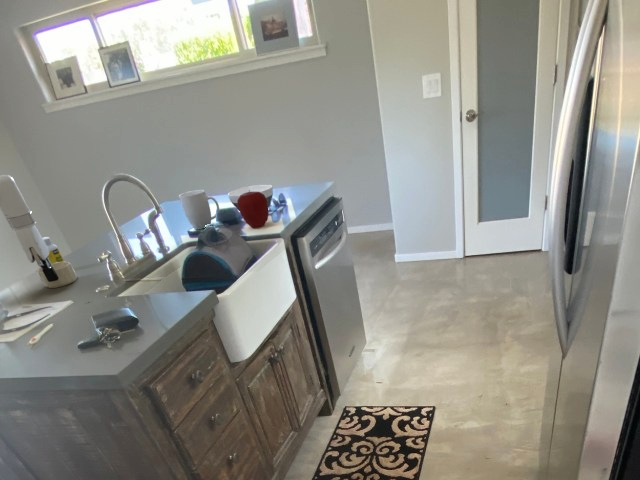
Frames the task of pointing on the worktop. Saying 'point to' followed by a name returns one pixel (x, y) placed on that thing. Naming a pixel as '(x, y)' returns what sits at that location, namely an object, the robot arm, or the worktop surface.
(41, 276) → the small bowl
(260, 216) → the apple
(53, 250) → the pill bottle
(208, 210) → the mug
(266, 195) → the bowl
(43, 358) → the worktop surface
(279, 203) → the worktop surface
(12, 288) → the worktop surface
